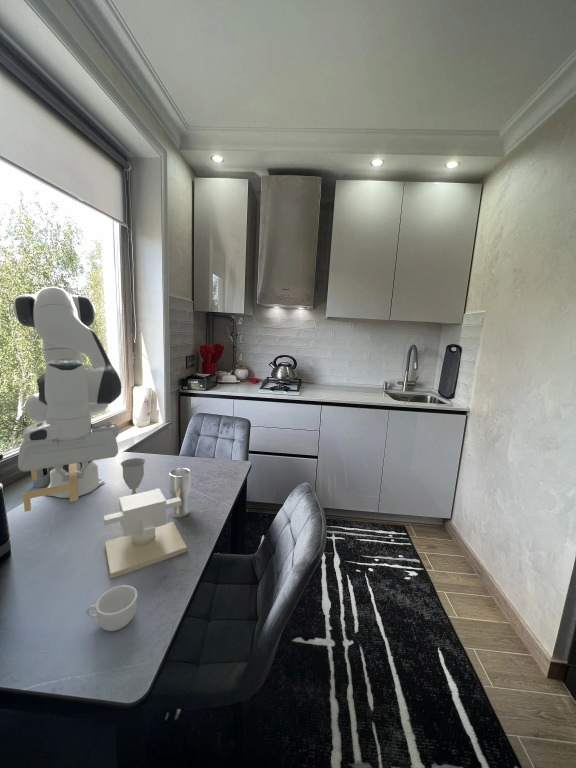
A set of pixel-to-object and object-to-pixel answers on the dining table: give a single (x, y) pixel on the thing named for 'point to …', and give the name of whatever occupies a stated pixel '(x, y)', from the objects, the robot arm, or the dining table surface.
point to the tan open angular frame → (54, 488)
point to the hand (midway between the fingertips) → (73, 479)
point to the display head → (142, 533)
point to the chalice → (133, 472)
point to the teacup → (115, 607)
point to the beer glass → (180, 490)
